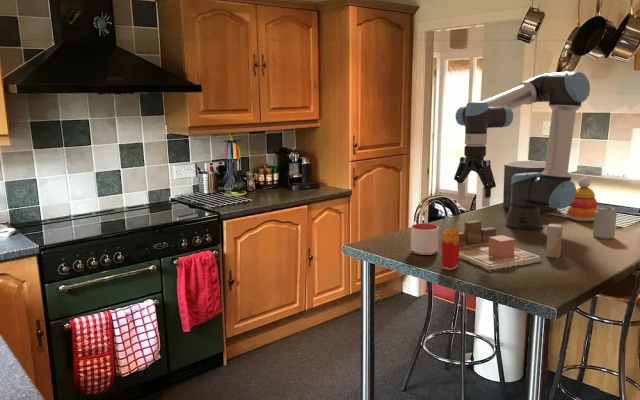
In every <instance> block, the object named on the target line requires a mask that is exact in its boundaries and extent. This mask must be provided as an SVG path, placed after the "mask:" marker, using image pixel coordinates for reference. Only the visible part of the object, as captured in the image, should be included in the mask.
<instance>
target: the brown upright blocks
mask: <svg viewBox="0 0 640 400" xmlns="http://www.w3.org/2000/svg"><path fill="white" fill-rule="evenodd" d="M463 227H464V231H463V232H464V233H466V246H467V247H470V248H472V249H475V250H477V251H480V252H482V253H485V254H487V255H490V254H488V251H489V246H486V245H483V244H481V229H482V221H480V220H479V219H478V220H476V219H475V220H470V221H464V226H463ZM490 256H492V257H495V256H493V255H490ZM495 258H498V257H495ZM498 259H500V260H503V261H505V262H511V261H517V260H519V258H518V257H515V256H511V257H506V258H498Z"/></svg>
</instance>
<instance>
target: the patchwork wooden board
mask: <svg viewBox="0 0 640 400" xmlns="http://www.w3.org/2000/svg"><path fill="white" fill-rule="evenodd" d="M496 234H497V228H496V227H483V228H481V244H484V245H486V246H489V237H494V236H497V235H496ZM459 239H460V245H459V253H461V254H464V255H469V254H475V253H476V250H473V249H471V248H468V247H466V233H464V231H459ZM524 251H525V250H524ZM524 251H518V252H514V256H516V257H519V258H521V259H527V258H533V257H535V255H536V254H535V255H533V254H534V253H532V254H530V253H531V252H529V253H527V252H528V251H526V252H524ZM472 258H473V259H475V260H478V261H480V262H483V263H485V264H487V265H496V264H501V263H503V261H501V260H499V259H496V258H494V257H491V256H489V255H486V254H485V255H479V256H474V257H472Z"/></svg>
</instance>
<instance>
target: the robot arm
mask: <svg viewBox="0 0 640 400" xmlns="http://www.w3.org/2000/svg"><path fill="white" fill-rule="evenodd" d="M590 84H591V82H590V81H589V78H588V77H587V75H586V74H585V73H583V72H582V71H573V70H572V71H570V70H569V71H560V72H557V71H556V72H546V73H543V74H539V75H536V76H534V77H531V78H529V79H527V80H524V81H522V82H520V83H519V84H518V85H517V87H514V88H512V89H509V90H507V91H505V92H502V93H499V94H497V95H495V96H493V97H489V98H487V99H485V100H482V101H470V102H467V103H466V105H464V106H461V107H459V108H458V109H457V110H456V112H455V121H456V123H457V124H458V125H459V126H461V127H462V126H464V127H465V128H464V130H465V131H464V145H465V146H464V155H463V156H460V158H459V163H458V166H457V169H456V171H455V174H454V177H453V180H454V181H456V182H457V201H465V200H466V179H467V178H468V177H469V175H470V173H471V171H472V172H475V173H476V174H477V176H478V178H479V179H480V182H481V183H482V185H483V188H482V193H481V194H482V196H481V199H482V200H481V207H482V208H486V207H487V208H488V207H490V203H491V202H490V199H491V197H492V196H491V195H492V189H494V188H496V186H497V185H496V181H495V177H494V175H493V170H492V168H491V167H492V166H491V160H490V159H485V158H484V157H486V155H487V146H486V145H487V143H488V141H487V139H488V129H489V128H492V129H495V128H506V127H509V126H510V125H511V124H512V123H513V121H514V112H513V110H514V109H516V108H519V107H520V106H523V105H531V104H534V103H545V102H546V103H548V107H549V108H550V109H551V119H550V126H549V131H548V132H549V134H548V142H547V151H546V157H545V158H546V159H545V162H546V164H545V170H544V171H543V172H541V173H538V172H534V173H520V174H515V175H513V176H512V181H511V199H510V209H509V210H508V212H507V215H506V217H505V220H504V225H505V226H507V227H509V228H513V229H518V230H538V229H542V227H543V219H542V217H541V213H540V211H539V205H542V206H547V207H551V208H557V210H562V209H565V208H568V207H570V206H571V203H572V201H573V200H574V198H575V195H576V190H577V186H576V184H575V183H574V182H573V181H572V175H571V174H570V173H569V165H570V157H571V151H572V150H571V149H572V142H573V137H574V127H575V121H576V120H575V119H576V112H577V111H578V110H579V109H581V107H582V103H584V102H585V101H587V99H588V97H590V92H591V85H590ZM484 159H485V160H484Z"/></svg>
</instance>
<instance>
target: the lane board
mask: <svg viewBox="0 0 640 400" xmlns="http://www.w3.org/2000/svg"><path fill="white" fill-rule="evenodd" d="M483 245H484V244H483ZM466 247H467V246H466ZM468 248H470V247H468ZM471 249H472V248H471ZM473 250H475V249H473ZM518 251H524V252H527V253H530V254H533V255H535V257H533V258H527V259H521V258H519V257H518V258H519V260H517V261H511V262H505V261H503V260H501V261H503V263H501V264H496V265H487V264H485V263H483V262H480V261H478V260H475V259H473V258H472V257H474V256H479V255H485V253H482V252H480V251H477V250H476V253H475V254H469V255H464V254H461V253H459V255H460V256H462V257H464V258H466V259H468V260H471V261H473V262H475V263H476V264H478V265H481V266H483V267H485V268H487V269H489V270H491V269H497V268H503V267H510V268H512V267H511V266H515V267H518V266H517V265H520V266H525V265H530V264H535V263H540V262H541V261H542V259H541V258H542V257H541V255H537V254H535V253H532V252H529V251H526V250H524V249H520V248H518V247H515V250H514V252H518ZM486 255H487V254H486ZM489 256H490V255H489ZM491 257H492V256H491ZM515 257H516V256H515ZM494 258H495V257H494ZM496 259H498V258H496ZM499 260H500V259H499Z"/></svg>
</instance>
